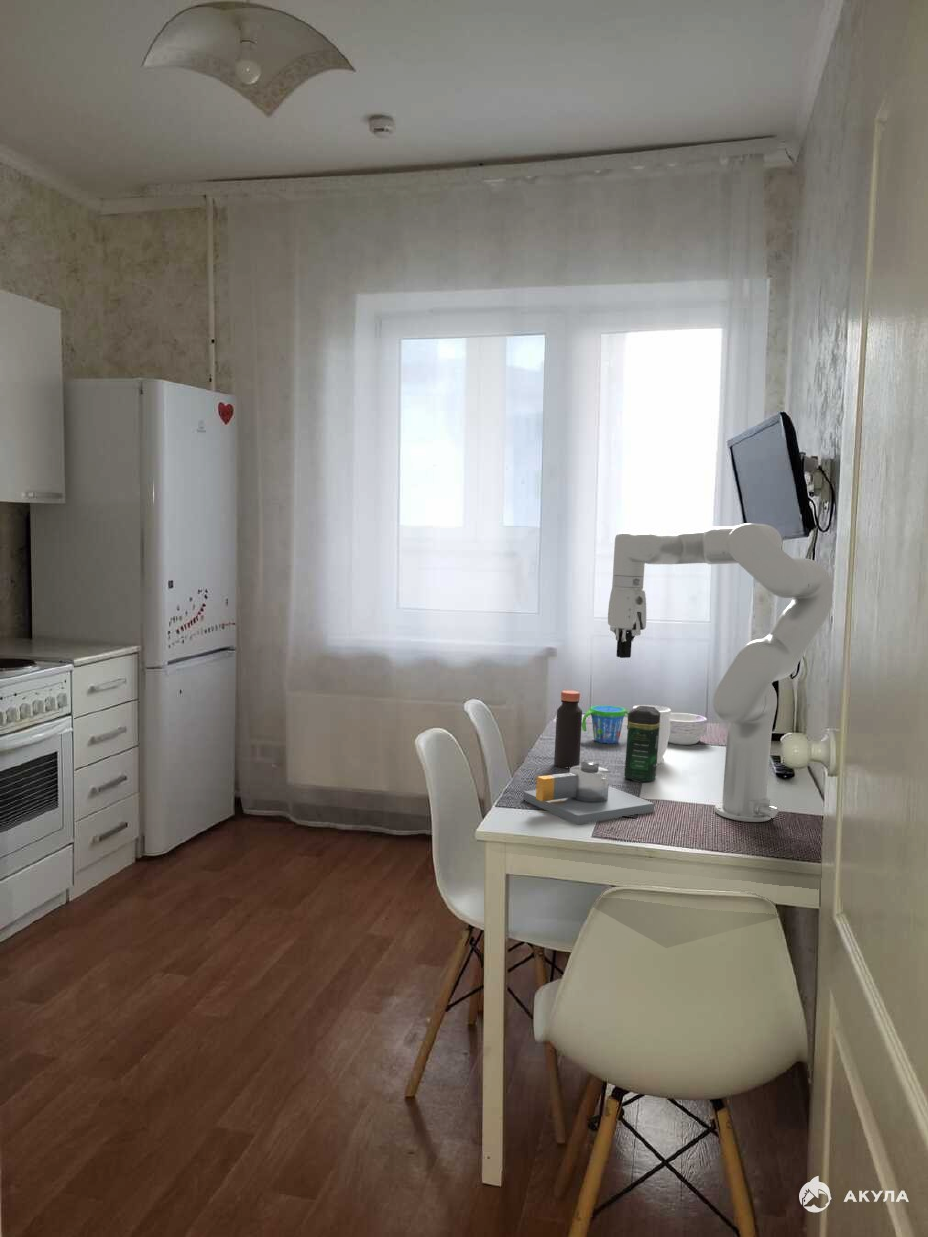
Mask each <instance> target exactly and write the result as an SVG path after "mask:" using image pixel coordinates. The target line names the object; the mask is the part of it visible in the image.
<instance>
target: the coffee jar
mask: <svg viewBox="0 0 928 1237" xmlns="http://www.w3.org/2000/svg"><path fill="white" fill-rule="evenodd" d="M628 712H629V717H628V716H627V725H628V729H627V734H626V736H627V737H626V746H625V747H626V748H625V749H626V750H625V761H624V762H625V764H624V777H625V779H629V780H632V781H633V782H639V783H641V782H652V781H654V779H656V776H657V768H658V764H657V754H658V741H659V727H660V712H659V711H658V710H657V709H655V707H649V706H639V707H637V708H634V709H633V708H632V709H630V710H629V711H628Z"/></svg>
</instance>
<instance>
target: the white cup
mask: <svg viewBox="0 0 928 1237" xmlns="http://www.w3.org/2000/svg"><path fill="white" fill-rule="evenodd" d="M639 706H649V707H655V709H657V710H658V711H659V712H660V727H659V741H658V754H657V765H660V764H663V763H664V762H665V758H664V755H665V754H666V751H667V749H668V748H667V747H668V743H669V742H668V740H669V735H670V719H669V714H670V713H672V709H671V708H669V707H665V706H662V705H655V704H653V705H652V704H637V705H634V706H633V707H632V709H634V708H637V707H639Z"/></svg>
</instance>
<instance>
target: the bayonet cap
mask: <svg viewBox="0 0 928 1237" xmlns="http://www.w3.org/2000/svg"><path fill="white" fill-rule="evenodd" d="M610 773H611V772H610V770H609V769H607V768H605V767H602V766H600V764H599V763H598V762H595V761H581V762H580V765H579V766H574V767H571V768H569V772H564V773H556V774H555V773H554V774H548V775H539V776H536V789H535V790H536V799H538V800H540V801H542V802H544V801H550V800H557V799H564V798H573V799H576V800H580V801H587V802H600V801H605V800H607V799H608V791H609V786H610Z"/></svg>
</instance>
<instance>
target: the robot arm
mask: <svg viewBox="0 0 928 1237" xmlns="http://www.w3.org/2000/svg"><path fill="white" fill-rule="evenodd" d="M614 538H615V539H614V547H613V548H614V549H613V550H614V551H613V567H612V568H613V569H612V583H611V584H612V586H611V590H610V591H611V592H610V595H609V602H608V609H607V610H608V611H607V624H608V626H610V628H609V630H610V631H611V632H612V633H614V635H615V640H616V641H617V642H616V657H617V658H621V659H623V658H624V659H625V658H627V659H629V658H631V656H632V642H634V639H635V637H638V636H641V634H642V632H641V631H642V630H645V629H646V627H647V599H646V598H647V597H646V591H645V589H644V582H645V581H644V580H645V578H644V576H645V565H646V564H647V565H685V564H686V565H690V564H708V565H727V564H729V565H731V564H733V565H734V564H738V565H740V566H741V568H743V569H744V570H745V571H746V572H747V573H748V574H749V575H750V576H751V577H753V579H754V580H756V581H757V582H758V583H759V584H760V585H761V586H763V587H764V588H765V590H767V591H768V592H769V593H771V594H772V595H773V596H776V597H778V598H782V599H791V601H790V603H789V604H788V605H787V606H786V608H785V609H784V610H783V611H782V613H781V614H780V615H779V617H778V619H777V621H776V622H775V624H774V625H773V627H772V628H771V629H770V632H768V634H766V636H765V637H763V638H757V639H754V640H751V641H750V642H747V644H745V645H744V646H743V647H742V648H741V649H740V651H739V652H738V653H737V655H736V656H735V657H734V659H733V661H732V662H731V664H730V665H729V667H728V669H727V670H726V672H725V673H724V675H723V677H722V678H721V680H720V682H719V683H718V685H717V687H716V689H715V690H714V694H713V699H712V706H713V709H714V712H715V714H716V715H717V716H718V718H720V719H721V720H722V721H724V722H726V723H729V724H728V727H727V735H726V745H725V756H724V757H725V759H724V772H723V787H722V798H721V799H722V800H721V802H718V803H716V804H715V805H714V812H715V813H716V814H717V815H718V816H721V817H723V818H727V819H730V820H735V821H738V822H739V821H740V822H746V823H747V822H749V823H763V822H764V823H765V822H768V821H770V820H772V819H773V818H775V817H776V815H777V814H778V813H779V811H780V810H779V808H778V807H775V806H771V798H768V796H767V794H768V782H769V770H770V769H769V768H770V756H771V744H772V732H773V728H774V727H773V725H774V722H775V716H776V711H777V705H778V696H777V692H776V690H775V688H774V687H775V686H773V683H774V682H777V681H780V680H784V679H786V678H788V677H789V676H791V675H792V673H793V672H794V671H795V670H796V668H797V666H798V665H799V663H800V661H801V659H802V658H803V657H804V655H805V654H806V653H807V650H808V649H809V648H810V645H811V644H812V643H813V641H814V639H815V637H816V636H817V635H818V633H819V631H820V629H821V628H822V627H823V625H824V624H825V622H826V620H827V618H828V616H829V614H830V613H831V610H832V608H833V605H832V587H833V586H834V583H833V580H832V578H831V575H830V573H829V571H827V569H826V568H825V567H824V566H823V565H822V564H821V563H819V562H818V561H816V560H814V559H810V558H805V557H791V556H790V555H788V554H787V552H786V551H784V550H783V549H782V548H783V539H782V535H781V534H780V532H779V531H778V530H777V529H776V528H775V527H774V526H771V525H768V524H765V523H764V524H763V523H752V522H750V523H742V524H739V525H734V526H733V525H732V526H712V527H709V528H706V530H705V531H699V532H683V533H666V532H646V533H639V532H638V533H637V532H619V533H617V534H616V535H615V536H614ZM771 818H772V819H771Z"/></svg>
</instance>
